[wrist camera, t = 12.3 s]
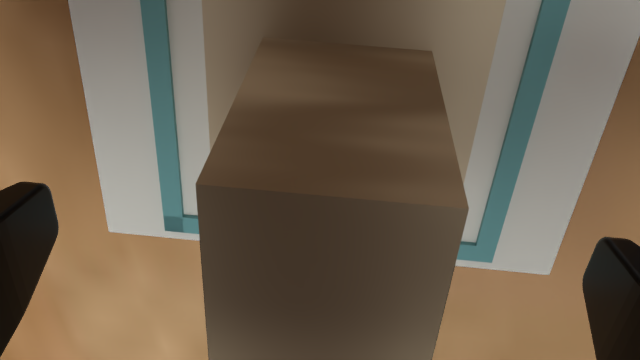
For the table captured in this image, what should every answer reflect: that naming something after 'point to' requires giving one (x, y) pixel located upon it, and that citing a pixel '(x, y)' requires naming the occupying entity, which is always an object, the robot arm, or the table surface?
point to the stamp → (337, 172)
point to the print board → (488, 146)
